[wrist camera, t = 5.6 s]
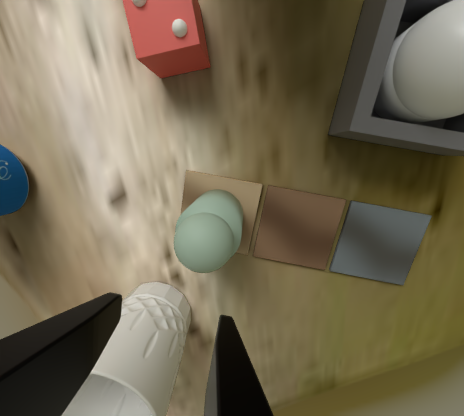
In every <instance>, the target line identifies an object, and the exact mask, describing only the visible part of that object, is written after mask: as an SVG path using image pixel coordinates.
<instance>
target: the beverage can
mask: <svg viewBox="0 0 464 416" xmlns="http://www.w3.org/2000/svg"><path fill="white" fill-rule="evenodd" d="M28 192H29V180H28V176H27V173H26V171H25V168H24V167H23V165H22V163H21V162H20V161H19V159H18V158H17V157H16V156H15V155H14V154H13V153H12V152H11V151H10V150H9V149H7V148H6V147H4V146H2V145H0V216H2V215H6V214H10V213H13V212H15V211H17V210H18V209H20V208H21V207H22V206H23V204H24V203H25V201H26V199H27V197H28Z"/></svg>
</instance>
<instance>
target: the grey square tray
mask: <svg viewBox="0 0 464 416" xmlns="http://www.w3.org/2000/svg"><path fill="white" fill-rule="evenodd" d="M450 1H453V0H364V2H363V6H362V10H361V13H360V17H359V21H358V24H357V28H356V32H355V36H354V39H353V43H352V47H351V51H350V54H349V58H348V62H347V65H346V69H345V73H344V77H343V80H342V84H341V88H340V92H339V95H338V99H337V103H336V106H335V110H334V114H333V118H332V121H331V125H330V129H329V133H328V135H331V136H337V137H342V138H348V139H353V140H359V141H365V142H370V143H376V144H382V145H387V146H393V147H398V148H404V149H410V150H415V151H421V152H427V153H432V154H438V155H447V156H464V113H463V114H461V115H457V116H454V117H450V118H445V119H439V120H433V121H427V122H421V123H415V124H411V123H405V122H399V121H394V120H388V119H383V118H382V117H380V116H379V115H378V114H377V113H376V112H375V110H374V109H373V107H374V104H375V100H376V97H377V94H378V91H379V87H380V84H381V81H382V78H383V74H384V71H385V68H386V65H387V61H388V58H389V55H390V52H391V48H392V45H393V42H394V39H395V38H396V37H398V36H399V35H400V34H402V33H403V32H404V31H406V30H407V29H408V28H409V27H411V26H412V25H413V24H415V23H416V22H417V21H419V20H420V19H421V18H422V17H424V16H425V15H427V14H428V13H430V12H431V11H433V10H434V9H436V8H438V7H440V6H442V5H444V4H446V3H448V2H450Z"/></svg>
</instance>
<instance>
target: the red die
mask: <svg viewBox="0 0 464 416" xmlns="http://www.w3.org/2000/svg"><path fill="white" fill-rule="evenodd" d="M123 4H124V8H125V12H126V16H127V20H128V24H129V29H130V33H131V37H132V41H133V45H134V49H135V53H136V58H137V59H138V60H139V61H140V62H141V63H143V64H144V65H145V66H146V67H148V68H149V69H150V70H151V71H152V72H154V73H155V74H156V75H157V76H158V77H160V78H165V77H170V76H174V75H179V74H183V73H188V72H192V71H196V70H201V69H205V68H210V61H209V56H208V50H207V44H206V39H205V33H204V27H203V22H202V16H201V11H200V6H199V3H198V0H123Z"/></svg>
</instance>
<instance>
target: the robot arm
mask: <svg viewBox="0 0 464 416" xmlns="http://www.w3.org/2000/svg"><path fill="white" fill-rule="evenodd" d="M121 310H122V296H121V295H120V294H116V293H107V294H104V295H102V296H100V297H97V298H95V299H93V300H90V301H88V302H86V303H84V304H81V305H79V306H77V307H74V308H72V309H70V310H67V311H65V312H63V313H60V314H58V315H56V316H54V317H51V318H49V319H47V320H44V321H42V322H40V323H37V324H35V325H33V326H31V327H28V328H26V329H24V330H21V331H19V332H17V333H14V334H12V335H10V336H8V337H5V338H3V339H1V340H0V416H62V414H63V413H64V411H65V410H66V408H67V407H68V405H69V404H70V402H71V401H72V399H73V398H74V397H75V395H76V394H77V392H78V391H79V389H80V388H81V386H82V385H83V383H84V382H85V380H86V379H87V377H88V376H89V374H90V373H91V371H92V370H93V368H94V366H95V364H96V363H97V361H98V359H99V357H100V356H101V354H102V352H103V350H104V348H105V347H106V345H107V343H108V341H109V339H110V338H111V336H112V334H113V332H114V330H115V329H116V327H117V325H118V323H119V321H120V318H121ZM204 416H273V413H272V411H271V408H270V406H269V403H268V401H267V399H266V396H265V394H264V392H263V389H262V387H261V384H260V382H259V380H258V377H257V375H256V372H255V370H254V368H253V365H252V363H251V361H250V358H249V356H248V353H247V351H246V349H245V346H244V344H243V341H242V339H241V337H240V334H239V332H238V330H237V327H236V325H235V322H234V320H233V318H232V317H231V316H226V315H220V317H219V322H218V328H217V333H216V338H215V344H214V349H213V355H212V360H211V366H210V371H209V377H208V382H207V388H206V396H205V407H204Z"/></svg>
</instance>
